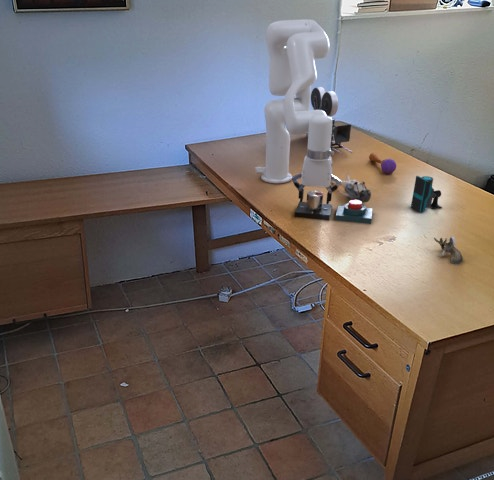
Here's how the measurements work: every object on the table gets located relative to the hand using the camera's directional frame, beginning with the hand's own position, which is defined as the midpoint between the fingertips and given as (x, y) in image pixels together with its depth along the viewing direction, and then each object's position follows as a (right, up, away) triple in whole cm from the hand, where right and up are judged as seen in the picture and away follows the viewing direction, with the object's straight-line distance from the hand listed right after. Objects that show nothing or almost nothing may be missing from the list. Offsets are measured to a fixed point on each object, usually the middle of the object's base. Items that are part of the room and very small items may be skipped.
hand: (314, 201), depth 195 cm
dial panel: (0, -4, +2) cm, 4 cm away
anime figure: (+17, +5, +17) cm, 24 cm away
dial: (0, -2, +1) cm, 2 cm away
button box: (+13, -6, -1) cm, 15 cm away
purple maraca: (+37, +21, +42) cm, 59 cm away
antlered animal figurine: (+35, -21, -28) cm, 49 cm away
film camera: (+19, +38, +72) cm, 84 cm away
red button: (+13, -3, -3) cm, 14 cm away
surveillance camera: (+41, -2, +4) cm, 41 cm away
